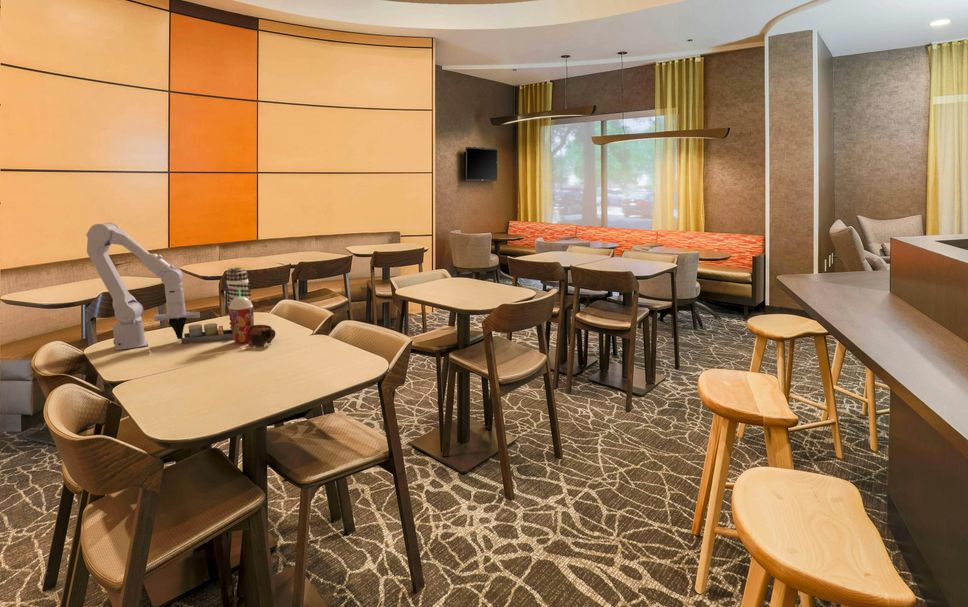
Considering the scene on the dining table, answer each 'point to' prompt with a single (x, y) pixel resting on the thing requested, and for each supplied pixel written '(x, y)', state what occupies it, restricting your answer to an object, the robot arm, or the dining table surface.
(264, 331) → the pottery mug
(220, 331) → the block
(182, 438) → the dining table surface
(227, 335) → the lane
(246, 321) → the smoothie
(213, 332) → the jar
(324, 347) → the dining table surface
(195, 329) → the jar
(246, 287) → the black white checkered cylinder
